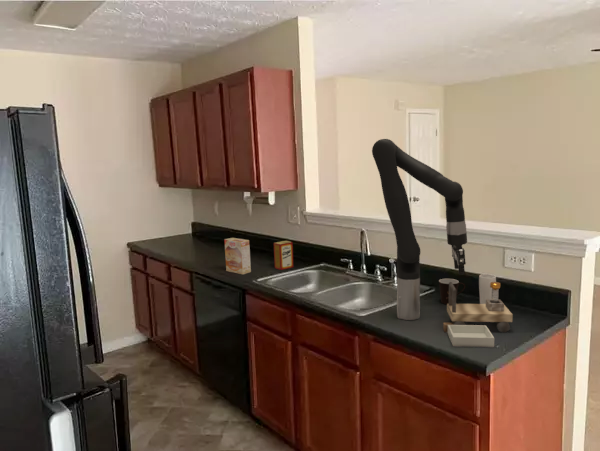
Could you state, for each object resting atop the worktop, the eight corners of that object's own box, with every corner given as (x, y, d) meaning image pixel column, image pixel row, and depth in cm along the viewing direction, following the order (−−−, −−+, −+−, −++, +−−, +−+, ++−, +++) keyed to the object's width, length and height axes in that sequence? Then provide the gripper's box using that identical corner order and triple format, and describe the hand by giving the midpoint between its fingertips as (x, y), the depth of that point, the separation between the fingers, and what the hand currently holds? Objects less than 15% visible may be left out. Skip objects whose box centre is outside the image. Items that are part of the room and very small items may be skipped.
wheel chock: (444, 332, 185) (444, 325, 184) (443, 329, 187) (443, 322, 187) (454, 332, 184) (454, 325, 184) (452, 329, 187) (452, 322, 186)
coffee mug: (438, 304, 216) (438, 283, 214) (438, 299, 224) (438, 278, 222) (465, 306, 213) (466, 284, 211) (464, 300, 221) (465, 279, 219)
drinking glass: (478, 306, 212) (479, 273, 210) (495, 307, 210) (496, 274, 207) (477, 311, 206) (478, 277, 204) (494, 312, 203) (496, 278, 201)
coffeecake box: (225, 271, 290) (223, 239, 286) (234, 268, 295) (232, 237, 292) (242, 274, 280) (240, 241, 277) (251, 272, 285) (249, 239, 282)
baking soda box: (280, 270, 287) (279, 243, 285) (274, 268, 293) (273, 242, 290) (293, 267, 293) (292, 241, 290) (287, 265, 298) (286, 240, 296)
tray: (453, 346, 171) (453, 337, 171) (447, 333, 183) (447, 324, 183) (494, 347, 170) (494, 337, 169) (485, 334, 181) (485, 325, 181)
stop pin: (490, 310, 186) (491, 284, 184) (488, 307, 189) (489, 281, 188) (500, 310, 185) (501, 284, 184) (498, 307, 189) (498, 281, 187)
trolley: (451, 331, 185) (452, 289, 182) (446, 320, 197) (447, 281, 194) (511, 332, 182) (513, 290, 179) (503, 321, 194) (504, 281, 191)
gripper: (443, 229, 199) (446, 267, 201) (450, 236, 185) (453, 277, 187) (462, 228, 198) (465, 266, 200) (470, 234, 184) (473, 275, 186)
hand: (459, 271), depth 194 cm, fingers open, 8 cm apart
